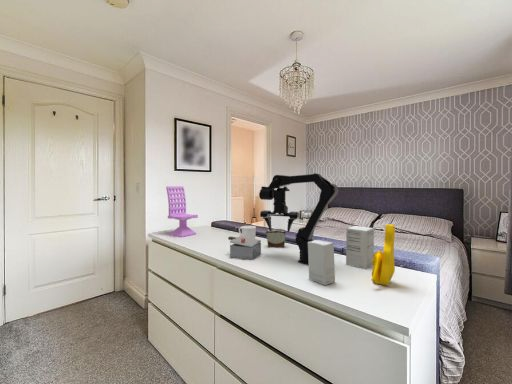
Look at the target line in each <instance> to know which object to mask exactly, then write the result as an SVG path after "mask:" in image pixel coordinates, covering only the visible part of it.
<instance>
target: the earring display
mask: <svg viewBox="0 0 512 384" xmlns="http://www.w3.org/2000/svg"><path fill="white" fill-rule="evenodd" d="M165 189H166V194H167V200H168V201H167V202H168V215H167V219H169V220H171V219H174V220H178V221H179V223H178V225H179V226H178V227H177V228H176V229H174V230H173V231H171V232H170V233H169V236H171V235H173V237H177V236H178V237H179V238H186V237H190V236H195V235H197V232H195V231H194V230H193V229H192V228H190V227H188V226H187V225H188V224H187V223H188V221H187V220H191V219H196V218H198V217H199V216H198V214H190V213H189V214H188V213H187V203H186V202H187V201H186V193H185V187H184V186H183V185H182V186H177V185H175V186H166V188H165Z"/></svg>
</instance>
